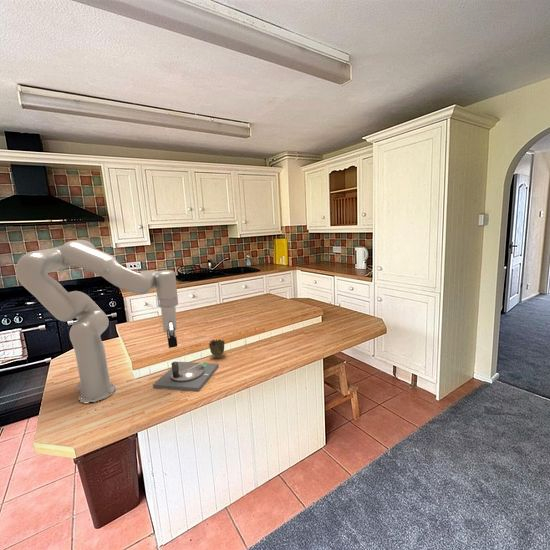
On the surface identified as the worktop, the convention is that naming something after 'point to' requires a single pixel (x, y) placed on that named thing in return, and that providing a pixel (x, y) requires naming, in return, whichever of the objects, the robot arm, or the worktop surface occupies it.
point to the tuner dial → (186, 371)
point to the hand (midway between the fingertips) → (172, 342)
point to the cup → (217, 348)
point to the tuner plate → (191, 385)
